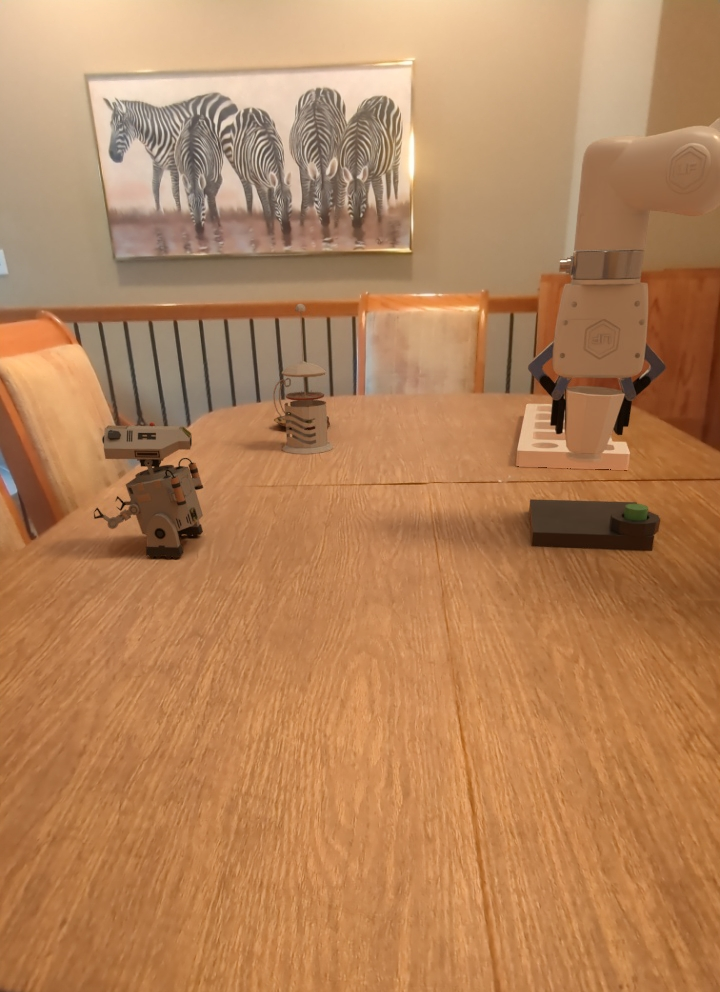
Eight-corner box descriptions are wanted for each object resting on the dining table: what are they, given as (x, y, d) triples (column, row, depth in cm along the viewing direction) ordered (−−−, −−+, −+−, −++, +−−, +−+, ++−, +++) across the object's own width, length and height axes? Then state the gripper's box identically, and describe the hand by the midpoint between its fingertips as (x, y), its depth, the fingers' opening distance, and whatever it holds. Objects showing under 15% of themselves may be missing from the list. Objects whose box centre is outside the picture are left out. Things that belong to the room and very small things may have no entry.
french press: (314, 456, 137) (306, 305, 126) (263, 449, 142) (252, 305, 131) (343, 445, 144) (339, 302, 133) (294, 439, 150) (286, 301, 139)
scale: (640, 515, 102) (644, 490, 100) (658, 552, 89) (663, 524, 88) (528, 512, 104) (530, 487, 103) (531, 547, 92) (534, 520, 90)
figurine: (130, 533, 100) (110, 417, 93) (214, 535, 98) (201, 417, 92) (101, 558, 92) (77, 433, 85) (192, 560, 90) (175, 433, 84)
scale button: (644, 516, 92) (646, 503, 91) (648, 522, 89) (650, 510, 89) (622, 515, 92) (624, 503, 91) (625, 522, 90) (627, 509, 89)
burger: (272, 423, 165) (269, 387, 162) (325, 420, 167) (324, 385, 164) (276, 434, 155) (274, 396, 151) (333, 430, 156) (332, 393, 153)
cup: (547, 460, 91) (557, 391, 88) (568, 444, 99) (578, 380, 95) (605, 469, 88) (618, 397, 85) (623, 452, 96) (635, 386, 93)
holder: (525, 416, 166) (526, 403, 165) (611, 418, 162) (612, 405, 161) (515, 466, 127) (517, 450, 126) (628, 470, 123) (630, 454, 122)
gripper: (528, 271, 82) (516, 437, 91) (695, 268, 80) (667, 440, 88) (526, 270, 89) (515, 425, 97) (681, 267, 86) (656, 427, 94)
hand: (588, 431), depth 92 cm, fingers closed on cup, 6 cm apart
